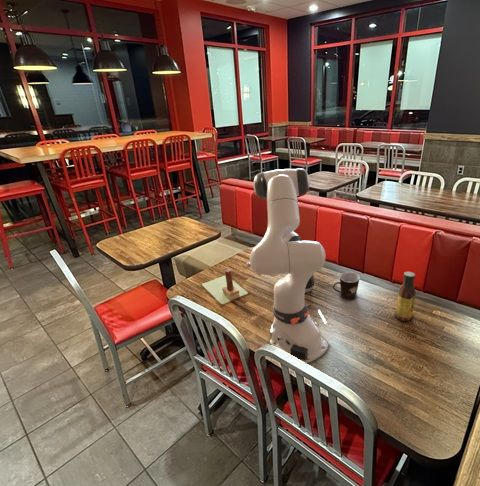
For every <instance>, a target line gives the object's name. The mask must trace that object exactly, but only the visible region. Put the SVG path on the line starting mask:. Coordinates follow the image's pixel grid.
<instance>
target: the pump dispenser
mask: <svg viewBox="0 0 480 486" xmlns="http://www.w3.org/2000/svg"><path fill="white" fill-rule="evenodd" d="M314 286H315V277H314V274H313V275H312V276H311V278H310V279H309V281H308V282H307V284H306V287H305V294H306V293H309V292H310V291H312V290H313V288H314Z"/></svg>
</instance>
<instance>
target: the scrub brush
mask: <svg viewBox="0 0 480 486" xmlns="http://www.w3.org/2000/svg"><path fill="white" fill-rule="evenodd" d="M224 275H225V276H226V283H227V286H226V287H223V288H222V290H223V294H224V295H225V296H226V297H227V298H228V299H229V300H232V299H234V298H236V297H238V298H240V297H239V290H238V289H237V288H235V287H234V286H233V281H234V280H233V274H232V269H231V268H227V269H225V270H224ZM232 280H233V281H232ZM236 299H237V298H236ZM234 300H235V299H234ZM232 301H233V300H232Z"/></svg>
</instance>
